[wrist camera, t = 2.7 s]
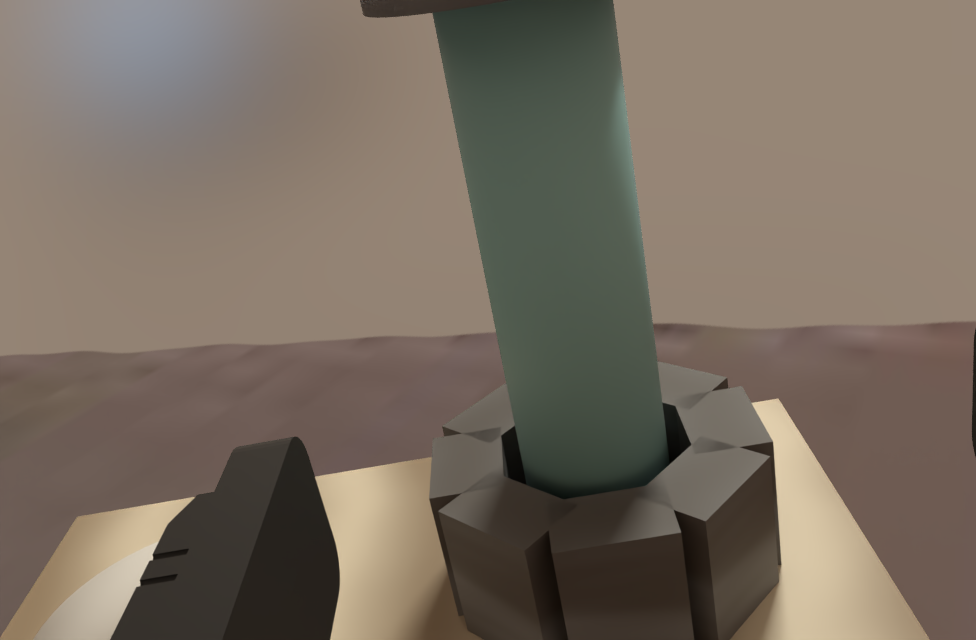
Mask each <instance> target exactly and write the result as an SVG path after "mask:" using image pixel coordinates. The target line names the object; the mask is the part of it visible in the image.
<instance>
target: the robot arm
mask: <svg viewBox="0 0 976 640" xmlns="http://www.w3.org/2000/svg"><path fill="white" fill-rule="evenodd" d="M972 441H973V447H974V452H975V456H976V330H975V335H974V362H973V409H972ZM152 555H153V560H151V561H149V562H148V564H147V566H146V568H145V570H144V572H143V574H142V576H141V578H140V586H138V587H136V588H135V591H134V593H133V595H132V597H131V599H130V601H129V603H128V605H127V607H126V609H125V611H124V613H123V615H122V617H121V619H120V621H119V623H118V625H117V627H116V629H115V631H114V633H113V635H112V637H111V639H110V640H330V638H331V633H332V628H333V622H334V617H335V612H336V607H337V602H338V597H339V590H340V568H339V559H338V553H337V548H336V543H335V540H334V536H333V533H332V530H331V527H330V523H329V520H328V517H327V514H326V511H325V507H324V504H323V501H322V498H321V495H320V492H319V488H318V485H317V482H316V479H315V476H314V472H313V469H312V466H311V463H310V460H309V456H308V454H307V451H306V448H305V446H304V444H303V443H302V441H301V440H300V439H299V438H298V437H290V438H285V439H279V440H273V441H268V442H262V443H256V444H251V445H245V446H239V447H236V448H235V449H234V450H233V452H232V453H231V456H230V458H229V460H228V462H227V465H226V467H225V469H224V471H223V474H222V476H221V478H220V480H219V483H218V485H217V487H216V489H215V492H211V493H205V494H200V495H197V496H196V497H195V498H194V499H193V500H192V501H191V502H190V503H189V504H188V505H187V506H186V507H185V508H184V509H183V510H182V511H180V512H179V513H178V514H177V515H176V516H175V517H174V518H173V519H172V520H171V521H170V522H169V523H168V524H167V526H166V528H165V530H164V532H163V534H162V536H161V538H160V540H159V542H158V544H157V546H156V548H155V550H154V552H153V554H152Z"/></svg>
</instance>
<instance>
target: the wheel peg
mask: <svg viewBox="0 0 976 640" xmlns="http://www.w3.org/2000/svg"><path fill="white" fill-rule="evenodd" d="M360 2H361V7H362V11H363V15H364V16H367V17H377V18H378V17H398V16H409V15H418V14H426V13H433V18H434V23H435V27H436V33H437V38H438V43H439V48H440V53H441V58H442V63H443V68H444V73H445V78H446V82H447V88H448V93H449V98H450V102H451V108H452V113H453V118H454V123H455V128H456V133H457V138H458V142H459V148H460V153H461V158H462V163H463V168H464V173H465V178H466V183H467V188H468V193H469V198H470V203H471V208H472V213H473V218H474V223H475V228H476V233H477V238H478V243H479V248H480V253H481V258H482V263H483V268H484V273H485V278H486V283H487V288H488V293H489V298H490V303H491V308H492V313H493V318H494V323H495V328H496V333H497V339H498V344H499V349H500V354H501V359H502V364H503V369H504V374H505V379H506V384H507V389H508V394H509V399H510V404H511V409H512V414H513V419H514V424H515V429H516V434H517V439H518V444H519V449H520V454H521V459H522V464H523V469H524V474H525V479H526V484H527V485H528V486H530V487H533V488H535V489H538V490H540V491H543V492H546V493H548V494H551V495H553V496H556V497H558V498H561V499H569V498H575V497H581V496H588V495H594V494H600V493H606V492H612V491H618V490H624V489H630V488H636V487H642V486H646V485H647V484H648V483H650V482H651V481H652V480H653V479H654V478H655V477H656V476H657V475H658V474H660V473H661V472H662V471H663V470H664V469H665V468H666V467H667V466H669V465H670V461H669V453H668V444H667V436H666V428H665V420H664V412H663V404H662V395H661V387H660V379H659V371H658V363H657V355H656V347H655V338H654V330H653V322H652V314H651V306H650V298H649V289H648V281H647V274H646V265H645V257H644V249H643V241H642V232H641V225H640V216H639V208H638V200H637V192H636V183H635V176H634V168H633V159H632V151H631V143H630V135H629V126H628V118H627V110H626V102H625V94H624V86H623V77H622V69H621V61H620V53H619V46H618V37H617V29H616V21H615V12H614V4H613V0H360Z"/></svg>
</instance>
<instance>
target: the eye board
mask: <svg viewBox="0 0 976 640" xmlns="http://www.w3.org/2000/svg"><path fill="white" fill-rule="evenodd" d="M657 363H658V371H659V379H660V387H661V395H662V404H663V412H664V420H665V428H666V436H667V444H668V453H669V461H670V465H669V466H667V467H666V468H665V469H664V470H663V471H662V472H661V473H660V474H658V475H657V476H656V477H655V478H654V479H653V480H652V481H651V482H650V483H648V484H647V485H646V486H642V487H636V488H630V489H624V490H618V491H612V492H606V493H600V494H594V495H588V496H581V497H575V498H569V499H561V498H558V497H556V496H553V495H551V494H548V493H546V492H543V491H540V490H538V489H535V488H533V487H530V486H528V485H527V484H526V479H525V474H524V469H523V464H522V459H521V454H520V449H519V444H518V439H517V434H516V429H515V424H514V419H513V414H512V409H511V404H510V399H509V394H508V389H507V384H506V383H505V384H504V385H502V386H501V387H499V388H498V389H496V390H495V391H493V392H492V393H490V394H489V395H487V396H486V397H485V398H483V399H482V400H480V401H479V402H477V403H476V404H474V405H473V406H471V407H470V408H468V409H467V410H465V411H464V412H462V413H461V414H459V415H458V416H456V417H455V418H453V419H452V420H450V421H449V422H448V423H446V424H445V425H443V426H442V428H443V432H444V436H445V437H439V438H433V445H432V457H429V458H423V459H418V460H412V461H406V462H400V463H394V464H388V465H382V466H376V467H370V468H364V469H358V470H352V471H346V472H340V473H335V474H329V475H323V476H317V477H315V479H316V482H317V485H318V488H319V492H320V495H321V498H322V501H323V504H324V507H325V511H326V514H327V517H328V520H329V523H330V527H331V530H332V533H333V536H334V540H335V543H336V548H337V553H338V559H339V568H340V590H339V597H338V602H337V607H336V612H335V617H334V622H333V628H332V633H331V638H330V640H930V639H929V638H928V636H927V635H926V633H925V631H924V630H923V628H922V627H921V625H920V623H919V622H918V620H917V619H916V617H915V615H914V614H913V612H912V611H911V609H910V608H909V606H908V604H907V603H906V601H905V600H904V598H903V596H902V595H901V593H900V592H899V590H898V588H897V587H896V585H895V584H894V582H893V580H892V579H891V577H890V576H889V574H888V573H887V571H886V569H885V568H884V566H883V565H882V563H881V561H880V560H879V558H878V557H877V555H876V553H875V552H874V550H873V549H872V547H871V545H870V544H869V542H868V541H867V539H866V537H865V536H864V534H863V533H862V531H861V530H860V528H859V526H858V525H857V523H856V522H855V520H854V518H853V517H852V515H851V514H850V512H849V510H848V509H847V507H846V506H845V504H844V502H843V501H842V499H841V498H840V496H839V495H838V493H837V491H836V490H835V488H834V487H833V485H832V483H831V482H830V480H829V479H828V477H827V475H826V474H825V472H824V471H823V469H822V467H821V466H820V464H819V463H818V461H817V460H816V458H815V456H814V455H813V453H812V452H811V450H810V448H809V447H808V445H807V444H806V442H805V440H804V439H803V437H802V436H801V434H800V432H799V431H798V429H797V428H796V426H795V425H794V423H793V421H792V420H791V418H790V417H789V415H788V413H787V412H786V410H785V409H784V407H783V405H782V404H781V402H780V401H779V399H773V400H767V401H761V402H756V403H751V402H750V400H749V398H748V396H747V395H746V393H745V391H744V389H743V388H742V386H740V387H734V388H728V381H727V377H723V376H718V375H714V374H710V373H706V372H701V371H697V370H693V369H689V368H684V367H680V366H676V365H672V364H667V363H663V362H659V361H657ZM194 498H195V497H192V498H186V499H180V500H174V501H168V502H163V503H157V504H151V505H145V506H139V507H133V508H127V509H121V510H115V511H109V512H103V513H97V514H91V515H85V516H80V517H77V518H76V520H75V521H74V523H73V524H72V526H71V527H70V529H69V531H68V532H67V534H66V535H65V537H64V538H63V540H62V542H61V543H60V545H59V546H58V548H57V549H56V551H55V553H54V554H53V556H52V557H51V559H50V560H49V562H48V564H47V565H46V567H45V568H44V570H43V571H42V573H41V575H40V576H39V578H38V579H37V581H36V582H35V584H34V586H33V587H32V589H31V590H30V592H29V593H28V595H27V597H26V598H25V600H24V601H23V603H22V604H21V606H20V607H19V609H18V611H17V612H16V614H15V615H14V617H13V618H12V620H11V622H10V623H9V625H8V626H7V628H6V629H5V631H4V633H3V634H2V636H1V637H0V640H110V639H111V637H112V635H113V633H114V631H115V629H116V627H117V625H118V623H119V621H120V619H121V617H122V615H123V613H124V611H125V609H126V607H127V605H128V603H129V601H130V599H131V597H132V595H133V593H134V591H135V588H136V587H138V586H140V578H141V576H142V574H143V572H144V570H145V568H146V566H147V564H148V562H149V561H151V560H153V555H152V554H153V552H154V550H155V548H156V546H157V544H158V542H159V540H160V538H161V536H162V534H163V532H164V530H165V528H166V526H167V524H168V523H169V522H170V521H171V520H172V519H173V518H174V517H175V516H176V515H177V514H178V513H179V512H180V511H182V510H183V509H184V508H185V507H186V506H187V505H188V504H189V503H190V502H191V501H192V500H193V499H194Z"/></svg>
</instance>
